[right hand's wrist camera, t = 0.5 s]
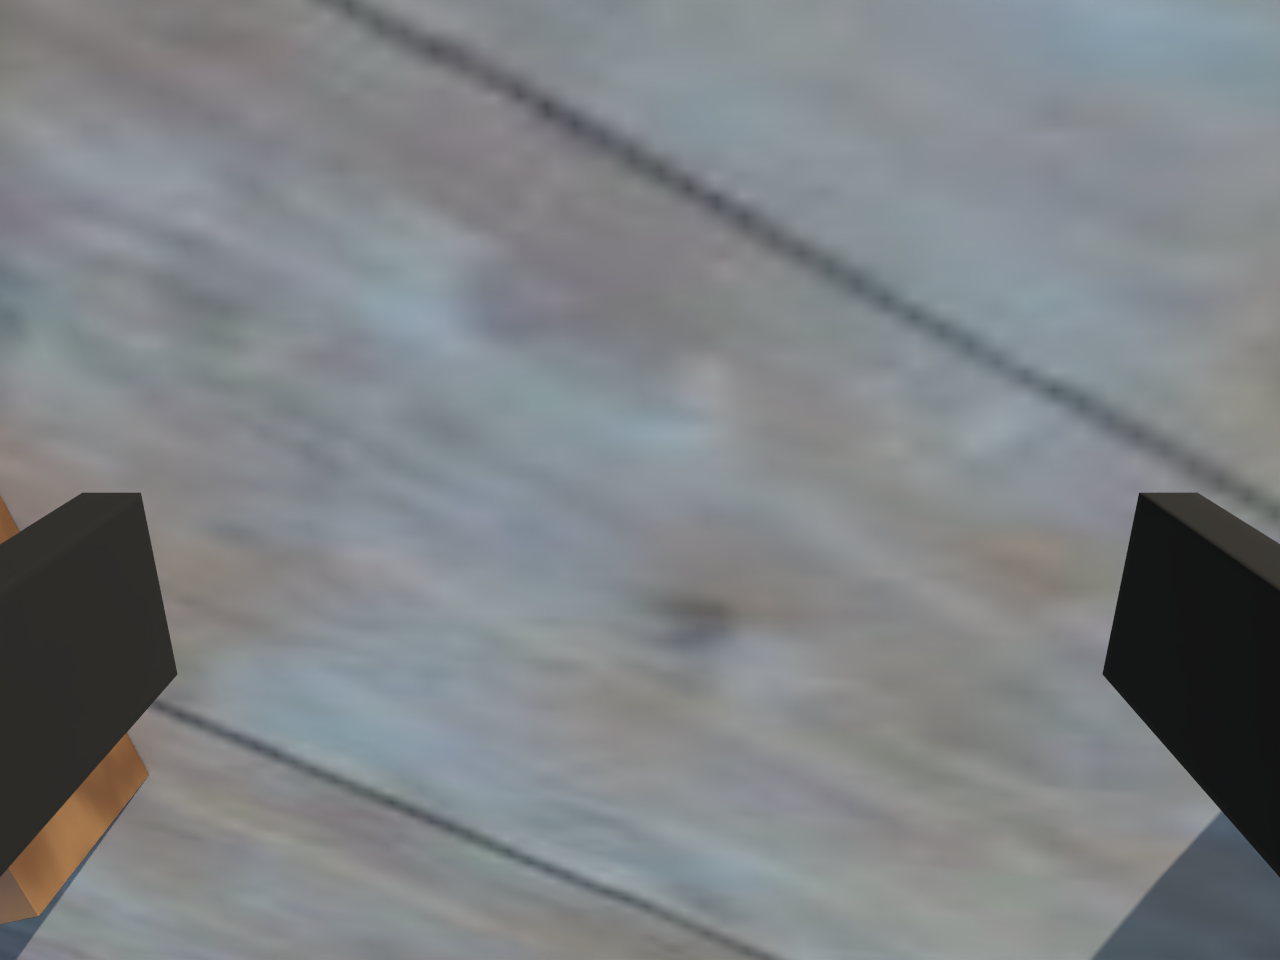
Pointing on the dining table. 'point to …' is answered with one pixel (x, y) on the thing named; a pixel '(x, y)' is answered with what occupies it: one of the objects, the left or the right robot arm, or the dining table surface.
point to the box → (67, 820)
